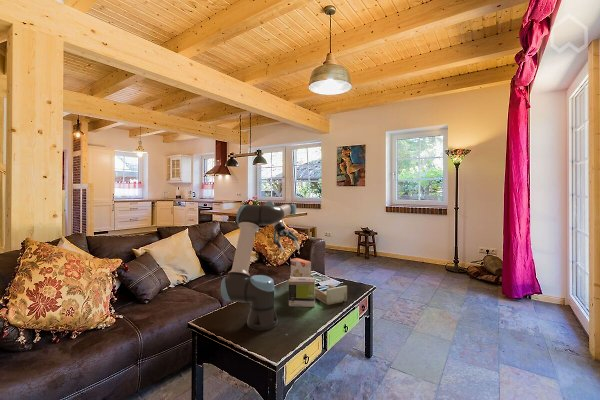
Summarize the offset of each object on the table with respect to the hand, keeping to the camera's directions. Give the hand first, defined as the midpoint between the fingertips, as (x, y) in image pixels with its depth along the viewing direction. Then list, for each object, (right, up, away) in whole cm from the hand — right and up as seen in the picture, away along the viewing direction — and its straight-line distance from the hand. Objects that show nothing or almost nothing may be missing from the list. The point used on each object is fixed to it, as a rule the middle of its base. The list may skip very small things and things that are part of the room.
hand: (291, 249), depth 201 cm
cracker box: (+7, -26, -8) cm, 28 cm away
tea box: (+7, -27, -28) cm, 40 cm away
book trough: (+24, -27, -19) cm, 41 cm away
